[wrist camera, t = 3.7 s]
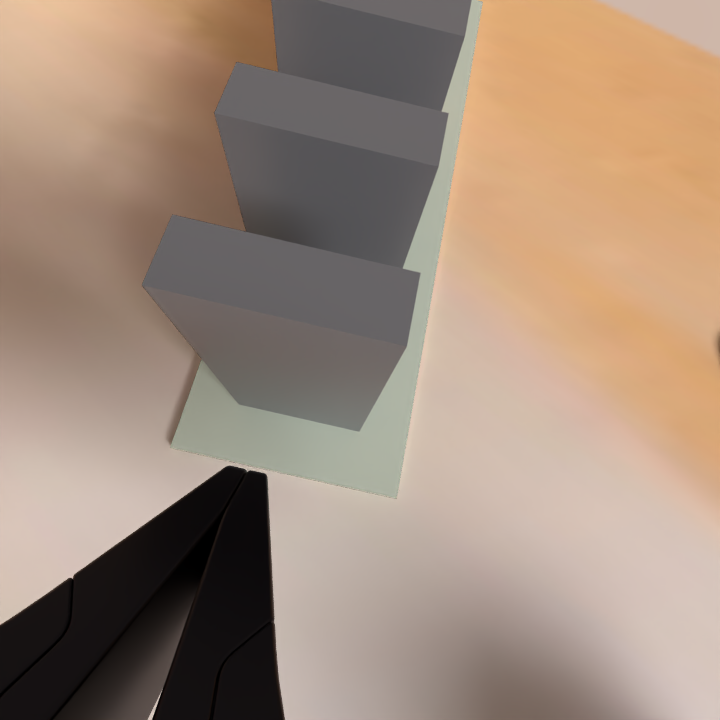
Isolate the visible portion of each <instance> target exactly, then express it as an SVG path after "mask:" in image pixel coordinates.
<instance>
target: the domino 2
mask: <svg viewBox="0 0 720 720" xmlns="http://www.w3.org/2000/svg"><path fill="white" fill-rule="evenodd" d="M214 114H215V117H216V121H217V125H218V129H219V132H220V136H221V140H222V144H223V147H224V151H225V155H226V158H227V162H228V166H229V170H230V173H231V177H232V181H233V184H234V188H235V192H236V196H237V199H238V203H239V207H240V210H241V214H242V218H243V222H244V225H245V229H246V232H249V233H253V234H258V235H262V236H266V237H270V238H275V239H279V240H283V241H287V242H292V243H296V244H300V245H305V246H309V247H313V248H317V249H322V250H326V251H330V252H334V253H339V254H343V255H347V256H351V257H356V258H360V259H364V260H368V261H373V262H377V263H381V264H386V265H390V266H394V267H398V268H403V266H404V263H405V260H406V257H407V255H408V252H409V249H410V246H411V243H412V240H413V238H414V235H415V232H416V229H417V226H418V224H419V221H420V218H421V215H422V212H423V209H424V207H425V204H426V201H427V198H428V195H429V193H430V190H431V187H432V184H433V181H434V178H435V176H436V173H437V170H438V167H439V162H440V157H441V152H442V146H443V141H444V136H445V130H446V125H447V120H448V115H449V113H446V112H442V111H438V110H434V109H430V108H425V107H421V106H417V105H413V104H409V103H405V102H401V101H396V100H392V99H388V98H384V97H380V96H376V95H372V94H368V93H363V92H359V91H355V90H351V89H347V88H343V87H339V86H334V85H330V84H326V83H322V82H318V81H314V80H310V79H305V78H301V77H297V76H293V75H289V74H285V73H281V72H276V71H272V70H268V69H264V68H260V67H256V66H252V65H248V64H243V63H239V62H236V64H235V67H234V69H233V71H232V74H231V76H230V78H229V80H228V83H227V85H226V87H225V90H224V92H223V94H222V96H221V99H220V101H219V103H218V106H217V108H216V110H215V113H214Z"/></svg>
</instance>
